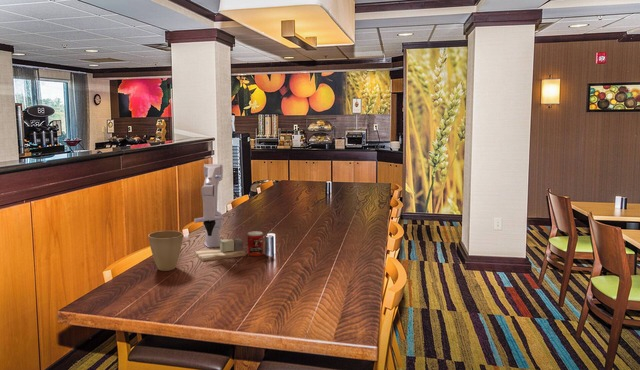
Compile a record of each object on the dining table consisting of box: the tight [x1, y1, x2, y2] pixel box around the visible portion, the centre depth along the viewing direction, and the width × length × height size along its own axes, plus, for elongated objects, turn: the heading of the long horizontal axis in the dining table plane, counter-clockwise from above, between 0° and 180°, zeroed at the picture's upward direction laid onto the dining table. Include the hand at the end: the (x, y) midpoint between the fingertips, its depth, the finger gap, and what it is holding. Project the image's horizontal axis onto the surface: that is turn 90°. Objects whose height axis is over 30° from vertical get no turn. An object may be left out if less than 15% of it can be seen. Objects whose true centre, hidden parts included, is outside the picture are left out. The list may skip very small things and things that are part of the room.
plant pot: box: [147, 230, 184, 272], centre depth 224 cm, size 15×15×16 cm
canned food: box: [246, 230, 264, 257], centre depth 248 cm, size 8×8×11 cm
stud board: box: [194, 238, 247, 262], centre depth 247 cm, size 14×22×6 cm, turn 118°
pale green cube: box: [219, 238, 234, 252], centre depth 249 cm, size 5×6×5 cm
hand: (209, 235), depth 248 cm, fingers closed
